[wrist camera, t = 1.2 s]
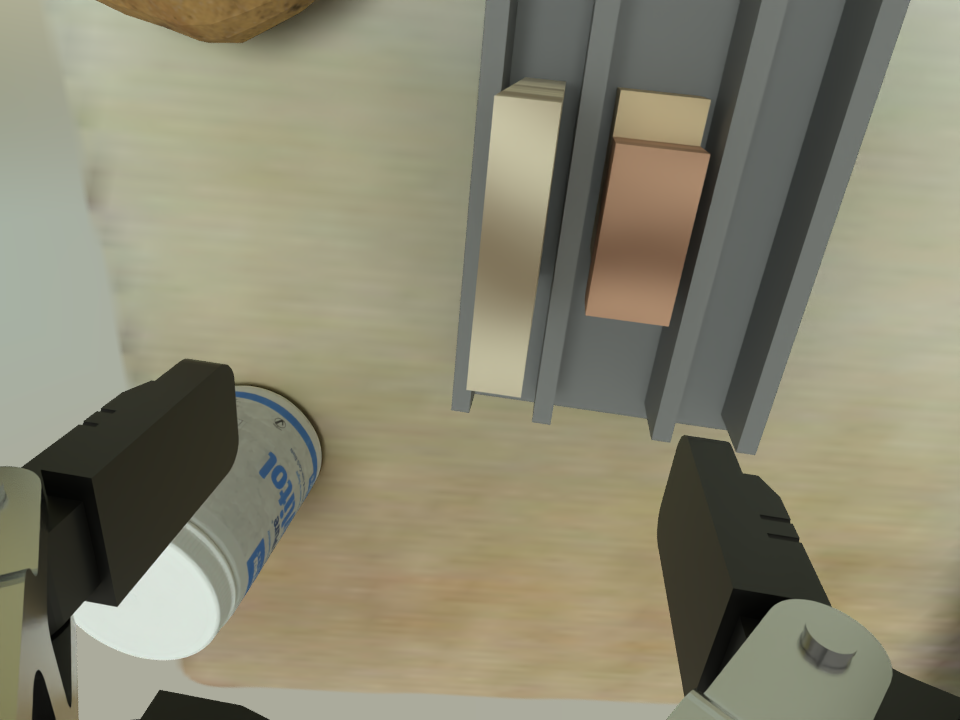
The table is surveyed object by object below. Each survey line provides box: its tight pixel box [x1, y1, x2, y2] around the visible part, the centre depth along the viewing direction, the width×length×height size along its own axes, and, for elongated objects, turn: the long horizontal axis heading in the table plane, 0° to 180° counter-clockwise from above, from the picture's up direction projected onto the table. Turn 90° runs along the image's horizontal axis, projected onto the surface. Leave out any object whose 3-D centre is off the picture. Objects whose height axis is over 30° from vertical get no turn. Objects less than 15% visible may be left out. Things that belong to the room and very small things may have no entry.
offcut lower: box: [590, 87, 711, 258], centre depth 32 cm, size 8×4×2 cm, turn 174°
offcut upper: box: [585, 137, 711, 327], centre depth 30 cm, size 8×4×2 cm, turn 174°
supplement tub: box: [73, 386, 322, 660], centre depth 39 cm, size 10×10×15 cm
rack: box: [451, 0, 910, 455], centre depth 32 cm, size 26×16×6 cm, turn 174°
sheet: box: [466, 77, 566, 398], centre depth 27 cm, size 10×2×14 cm, turn 174°
